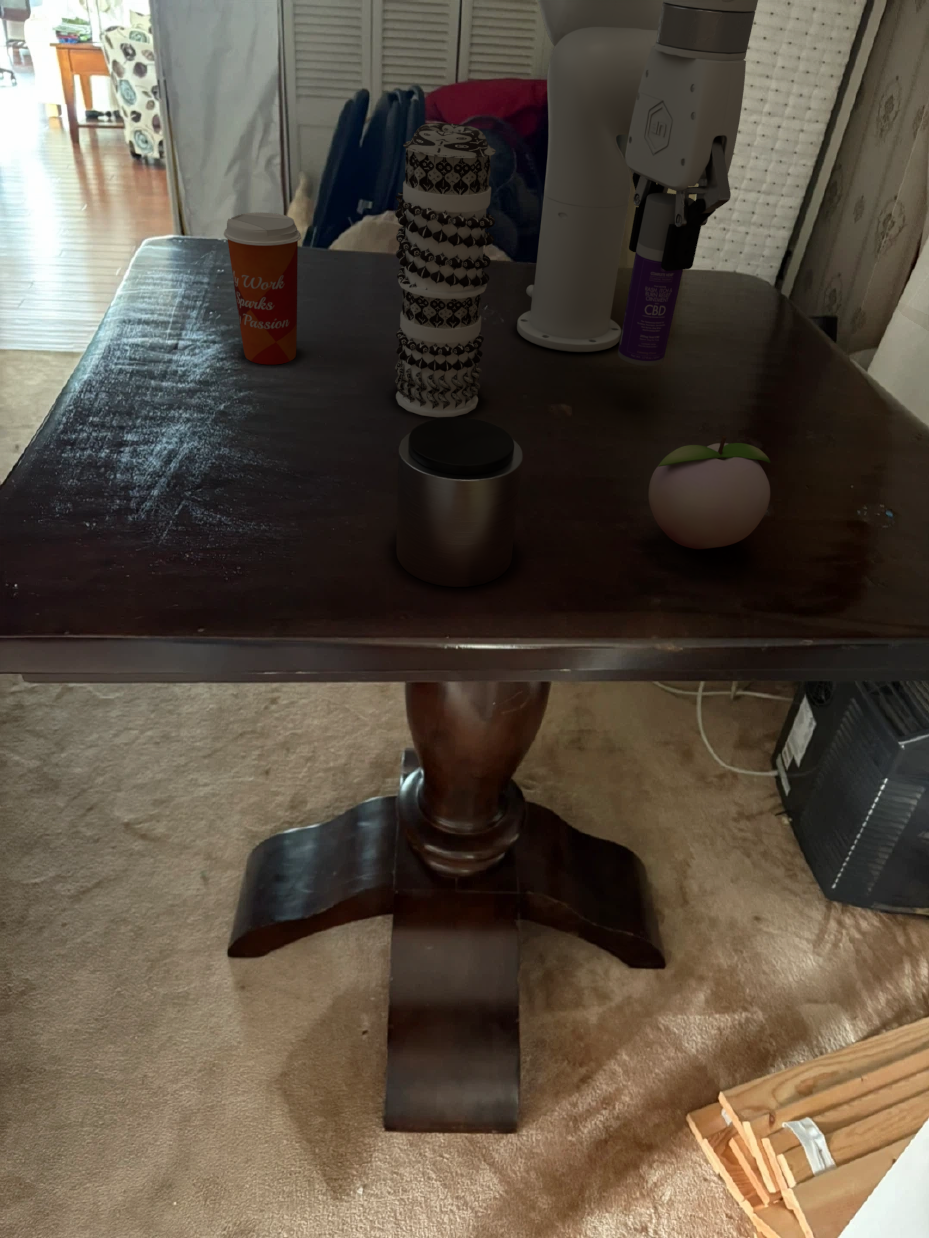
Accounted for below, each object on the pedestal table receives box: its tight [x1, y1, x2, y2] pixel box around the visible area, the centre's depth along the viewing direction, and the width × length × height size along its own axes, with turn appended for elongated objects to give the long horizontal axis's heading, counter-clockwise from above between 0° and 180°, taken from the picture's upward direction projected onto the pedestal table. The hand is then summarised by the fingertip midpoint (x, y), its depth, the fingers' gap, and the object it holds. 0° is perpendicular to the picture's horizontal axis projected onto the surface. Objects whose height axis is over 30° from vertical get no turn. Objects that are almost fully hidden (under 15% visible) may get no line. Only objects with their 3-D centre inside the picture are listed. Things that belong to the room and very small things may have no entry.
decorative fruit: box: [647, 434, 771, 550], centre depth 71 cm, size 9×8×10 cm
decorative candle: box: [394, 122, 497, 418], centre depth 87 cm, size 9×9×25 cm
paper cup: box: [223, 211, 302, 366], centre depth 97 cm, size 8×8×14 cm
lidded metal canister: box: [395, 416, 524, 588], centre depth 69 cm, size 9×9×10 cm
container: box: [617, 192, 696, 367], centre depth 88 cm, size 5×5×15 cm
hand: (659, 257), depth 87 cm, fingers closed on container, 4 cm apart
